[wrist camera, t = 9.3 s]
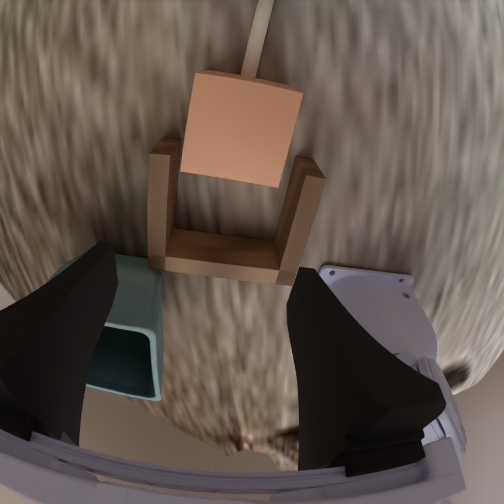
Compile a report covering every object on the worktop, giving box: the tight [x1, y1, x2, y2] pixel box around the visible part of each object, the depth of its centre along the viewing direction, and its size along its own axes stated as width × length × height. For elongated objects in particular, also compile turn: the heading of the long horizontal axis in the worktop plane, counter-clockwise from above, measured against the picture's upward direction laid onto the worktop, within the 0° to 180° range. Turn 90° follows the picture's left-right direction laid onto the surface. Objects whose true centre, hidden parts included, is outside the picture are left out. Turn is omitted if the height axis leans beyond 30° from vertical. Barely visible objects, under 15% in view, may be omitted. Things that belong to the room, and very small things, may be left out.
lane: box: [147, 137, 326, 286], centre depth 20 cm, size 10×8×4 cm
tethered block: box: [180, 0, 303, 188], centre depth 13 cm, size 5×14×6 cm, turn 168°
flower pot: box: [45, 254, 164, 401], centre depth 21 cm, size 9×9×9 cm
